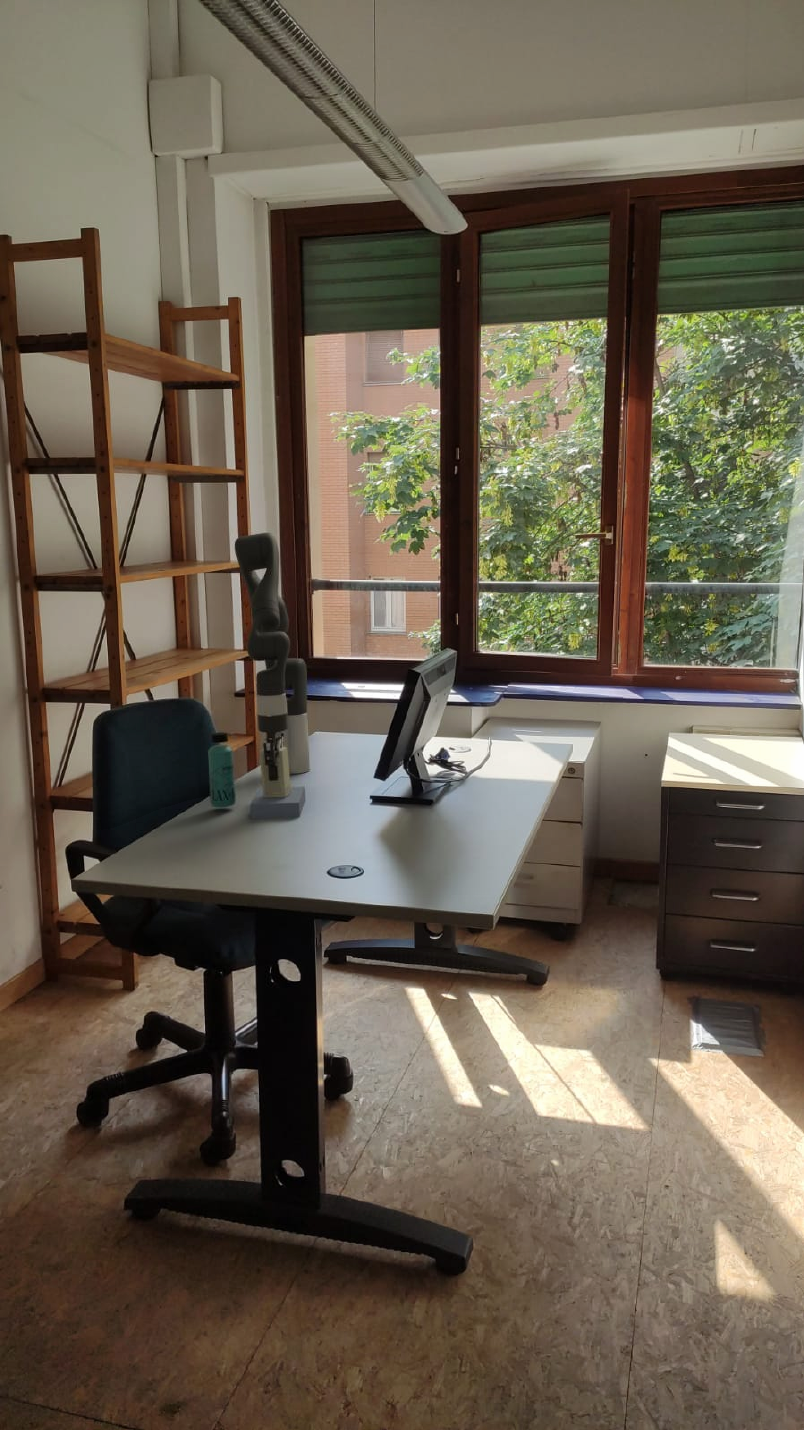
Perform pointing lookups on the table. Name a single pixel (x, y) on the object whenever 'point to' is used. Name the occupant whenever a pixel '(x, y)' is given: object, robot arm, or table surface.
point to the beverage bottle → (221, 772)
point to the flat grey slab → (278, 804)
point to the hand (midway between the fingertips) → (275, 777)
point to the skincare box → (283, 783)
